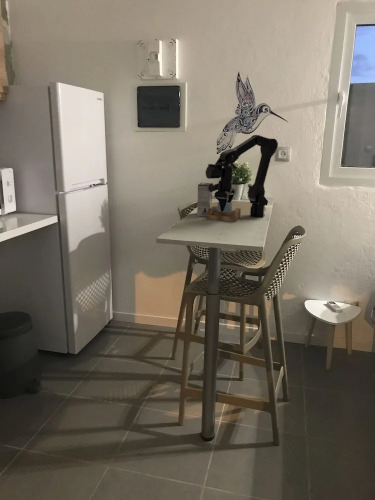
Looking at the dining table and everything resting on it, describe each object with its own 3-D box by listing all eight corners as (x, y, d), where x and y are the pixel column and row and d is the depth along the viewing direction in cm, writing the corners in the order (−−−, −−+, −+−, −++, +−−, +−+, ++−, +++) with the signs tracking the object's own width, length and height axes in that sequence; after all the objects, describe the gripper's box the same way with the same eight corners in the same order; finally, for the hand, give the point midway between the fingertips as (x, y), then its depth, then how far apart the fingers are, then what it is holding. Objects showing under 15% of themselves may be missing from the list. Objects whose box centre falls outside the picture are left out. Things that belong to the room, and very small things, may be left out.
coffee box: (199, 212, 212) (200, 182, 207) (211, 213, 211) (213, 183, 206) (196, 215, 203) (197, 184, 199) (209, 216, 202) (210, 185, 197)
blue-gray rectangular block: (231, 215, 198) (232, 203, 196) (230, 215, 196) (231, 203, 194) (218, 213, 200) (218, 201, 198) (217, 214, 198) (217, 202, 197)
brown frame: (240, 218, 201) (240, 208, 199) (235, 221, 192) (236, 211, 190) (213, 215, 205) (213, 205, 204) (207, 219, 196) (208, 209, 195)
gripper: (215, 175, 204) (214, 205, 208) (204, 178, 187) (203, 211, 191) (237, 176, 200) (235, 207, 205) (227, 180, 183) (225, 213, 188)
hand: (224, 209), depth 197 cm, fingers open, 9 cm apart
